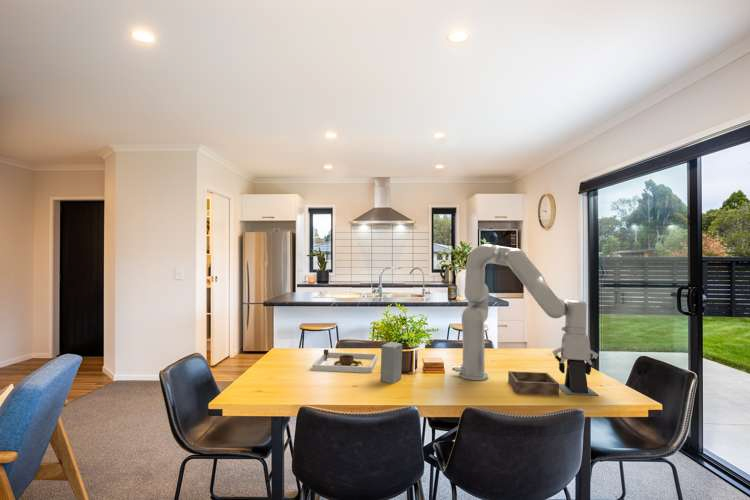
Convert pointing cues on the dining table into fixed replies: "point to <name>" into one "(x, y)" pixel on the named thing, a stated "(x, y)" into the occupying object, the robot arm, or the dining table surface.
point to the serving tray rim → (346, 368)
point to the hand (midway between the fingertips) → (574, 373)
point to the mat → (568, 392)
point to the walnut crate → (533, 383)
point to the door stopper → (576, 376)
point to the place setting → (343, 359)
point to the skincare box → (391, 362)
